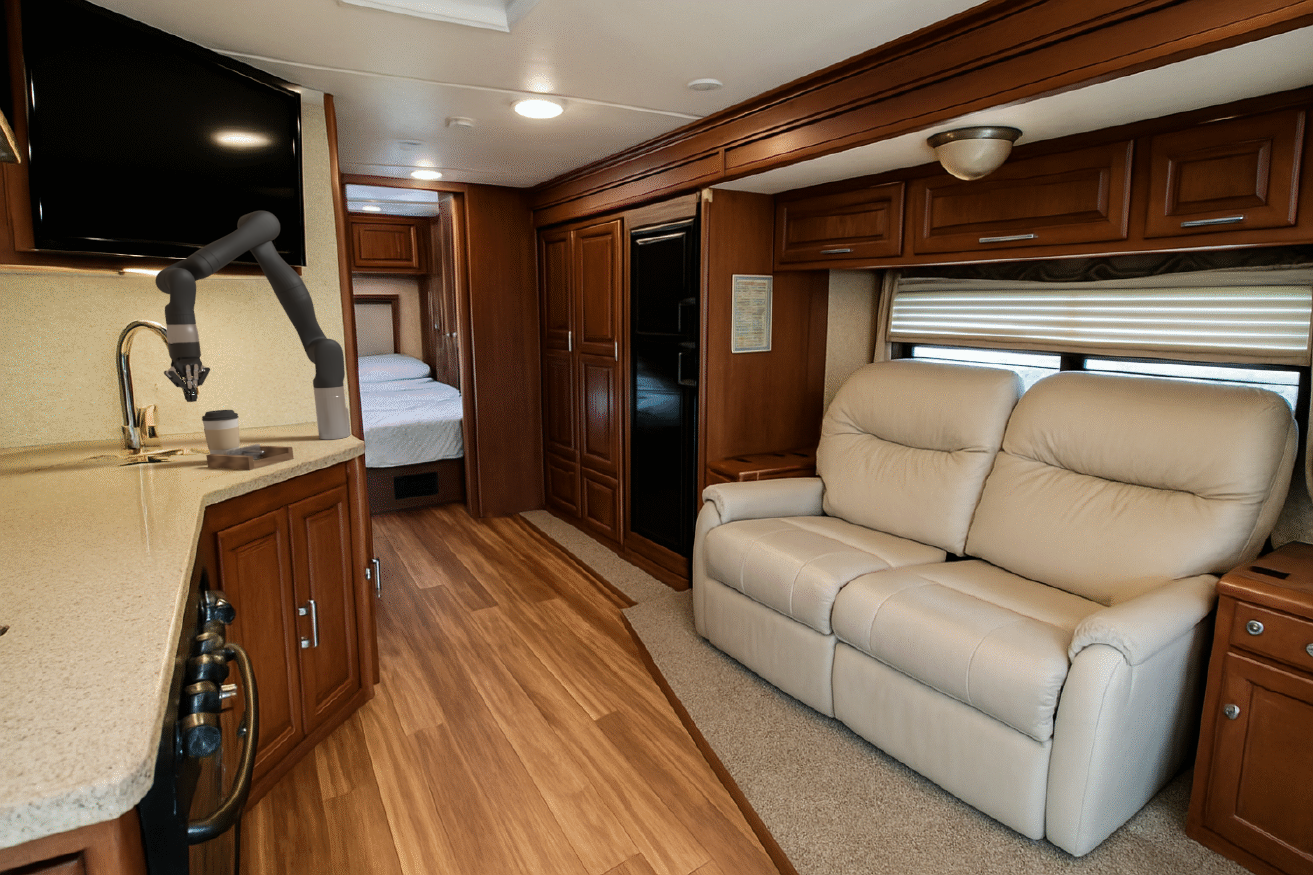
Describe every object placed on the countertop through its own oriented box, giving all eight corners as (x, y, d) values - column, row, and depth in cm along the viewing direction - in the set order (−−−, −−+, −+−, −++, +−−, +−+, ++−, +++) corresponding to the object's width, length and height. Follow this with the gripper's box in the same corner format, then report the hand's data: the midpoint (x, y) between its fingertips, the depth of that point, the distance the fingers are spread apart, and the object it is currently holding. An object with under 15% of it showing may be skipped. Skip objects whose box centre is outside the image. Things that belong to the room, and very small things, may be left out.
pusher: (225, 465, 197) (223, 451, 196) (258, 457, 207) (256, 444, 206) (248, 466, 194) (246, 452, 194) (280, 458, 205) (278, 445, 204)
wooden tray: (207, 467, 196) (206, 455, 196) (253, 456, 210) (252, 445, 210) (249, 470, 192) (248, 457, 191) (293, 458, 206) (292, 446, 205)
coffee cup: (200, 463, 202) (193, 411, 199) (232, 457, 210) (225, 407, 207) (219, 466, 198) (212, 412, 195) (251, 459, 206) (244, 408, 203)
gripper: (195, 340, 208) (202, 398, 211) (151, 342, 196) (159, 404, 199) (214, 339, 206) (222, 399, 209) (171, 341, 194) (179, 404, 197)
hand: (191, 401), depth 204 cm, fingers closed
